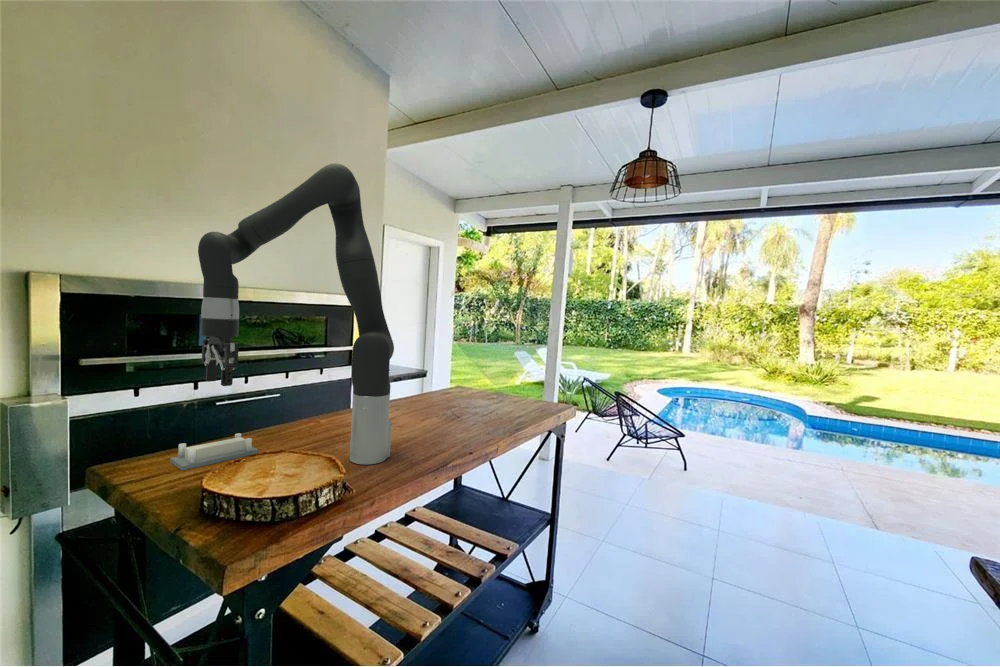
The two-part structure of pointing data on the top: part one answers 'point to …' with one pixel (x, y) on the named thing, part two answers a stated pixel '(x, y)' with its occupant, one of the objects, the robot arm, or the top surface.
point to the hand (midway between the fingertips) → (218, 383)
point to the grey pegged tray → (194, 463)
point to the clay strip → (217, 448)
